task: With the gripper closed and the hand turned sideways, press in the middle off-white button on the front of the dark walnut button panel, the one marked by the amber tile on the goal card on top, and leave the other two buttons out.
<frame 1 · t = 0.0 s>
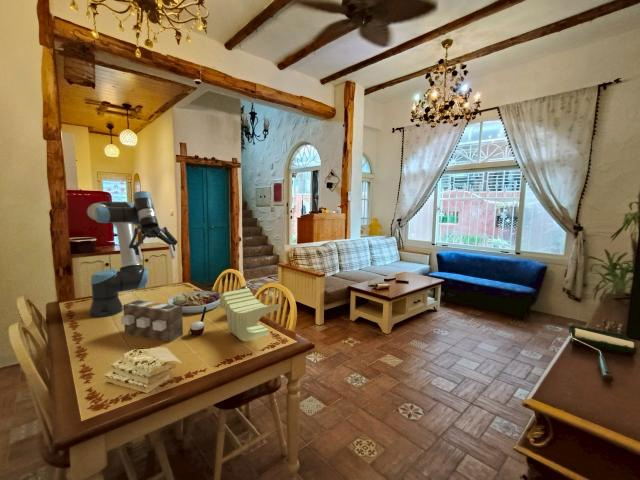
hand: (158, 259, 137), 36 cm above the table, tool tilted 35°, fingers open, 13 cm apart
middle button: (143, 322, 134), point 8 cm above the table, slide at 0.0 cm
cocoa: (197, 334, 142), on the table
button panel: (153, 334, 140), on the table
alarm clock: (241, 313, 170), on the table
bowl: (195, 306, 179), on the table
slatted curved stool: (248, 334, 144), on the table
button 2: (159, 325, 132), point 8 cm above the table, slide at 0.0 cm
button 1: (127, 319, 137), point 8 cm above the table, slide at 0.0 cm
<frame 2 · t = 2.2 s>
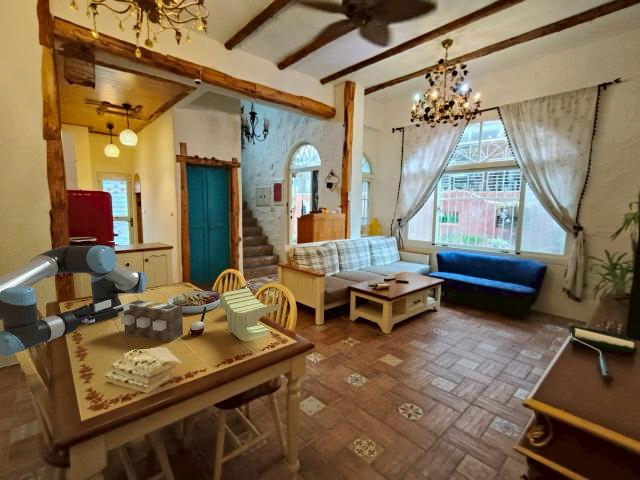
hand: (119, 304, 122), 20 cm above the table, tool horizontal, fingers open, 9 cm apart
nothing on the table moved.
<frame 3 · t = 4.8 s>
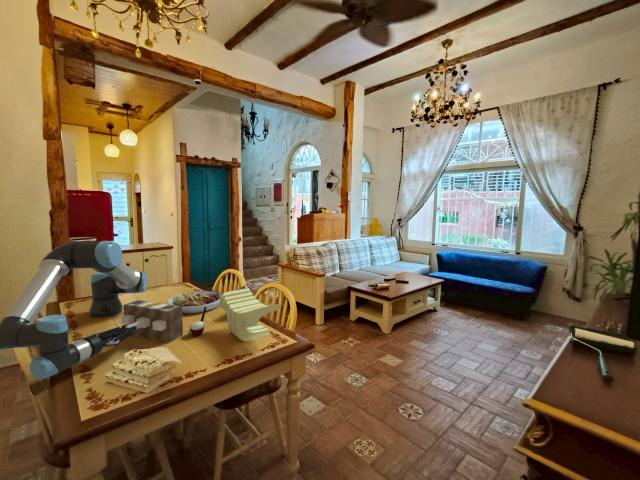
hand: (140, 324, 132), 8 cm above the table, tool horizontal, fingers closed
middle button: (143, 322, 134), point 8 cm above the table, slide at 0.0 cm, touching gripper
everything else where it was.
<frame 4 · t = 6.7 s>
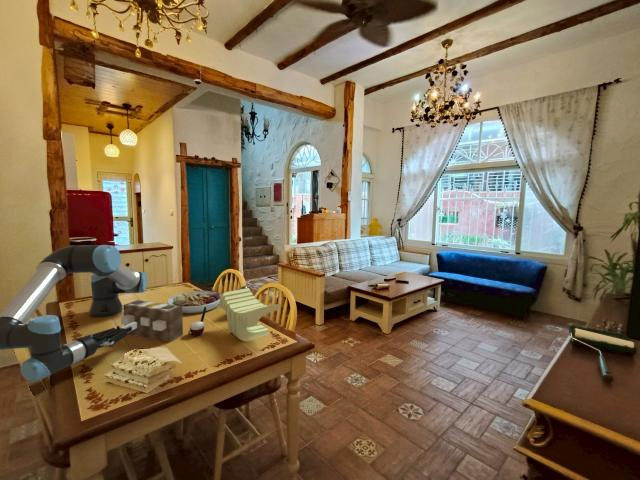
hand: (135, 324, 130), 9 cm above the table, tool horizontal, fingers closed
middle button: (147, 320, 136), point 8 cm above the table, slide at 2.1 cm
everything else where it was.
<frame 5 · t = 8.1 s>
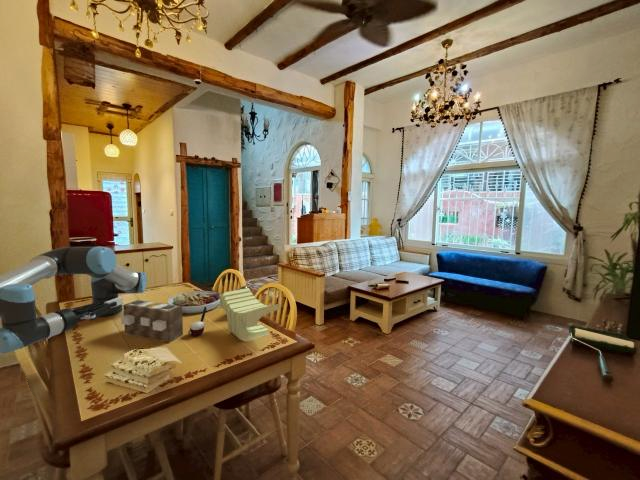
hand: (121, 300, 123), 22 cm above the table, tool horizontal, fingers closed
nothing on the table moved.
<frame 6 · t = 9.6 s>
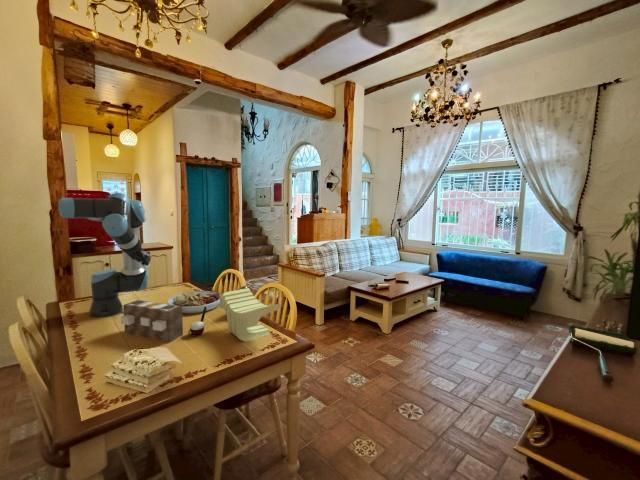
hand: (147, 266, 142), 31 cm above the table, tool tilted 50°, fingers closed
nothing on the table moved.
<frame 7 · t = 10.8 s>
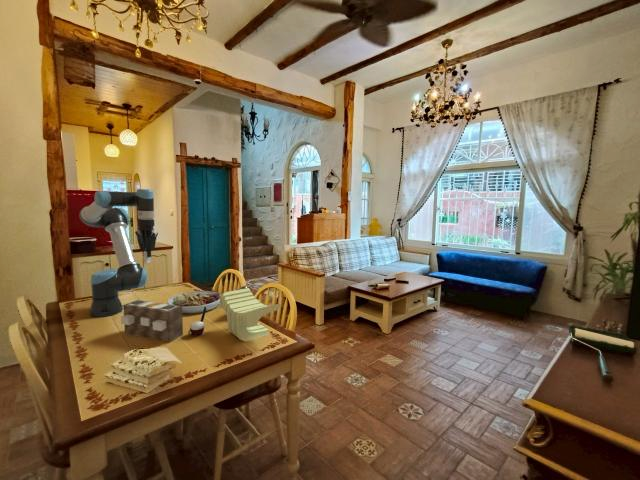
hand: (147, 262, 159), 29 cm above the table, tool pointing down, fingers closed
nothing on the table moved.
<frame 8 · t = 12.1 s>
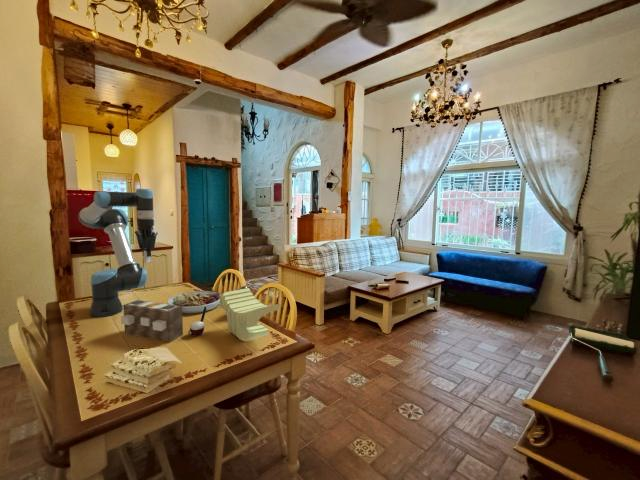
hand: (147, 262, 160), 29 cm above the table, tool pointing down, fingers closed
nothing on the table moved.
at the end: middle button slide at 2.1 cm; button 1 slide at 0.0 cm; button 2 slide at 0.0 cm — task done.
